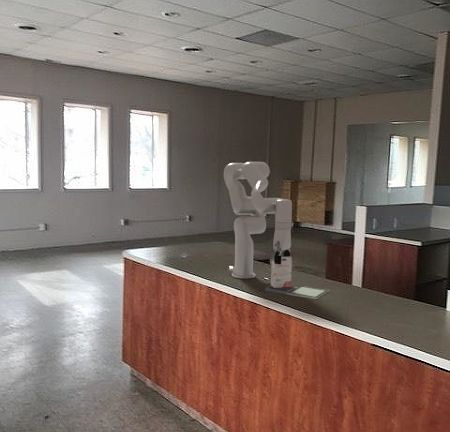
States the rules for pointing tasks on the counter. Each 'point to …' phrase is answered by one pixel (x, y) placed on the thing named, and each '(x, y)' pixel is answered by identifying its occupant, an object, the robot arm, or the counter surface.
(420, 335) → the counter surface
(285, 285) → the ink cartridge box
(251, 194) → the robot arm
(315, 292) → the marked card
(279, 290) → the ink pad
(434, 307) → the counter surface
